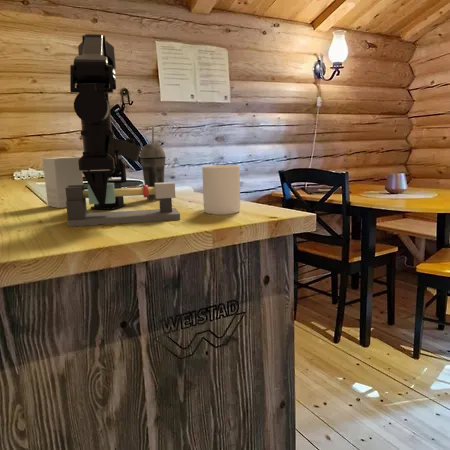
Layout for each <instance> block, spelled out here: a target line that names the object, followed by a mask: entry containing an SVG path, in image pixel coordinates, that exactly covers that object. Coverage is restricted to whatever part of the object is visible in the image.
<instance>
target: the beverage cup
mask: <svg viewBox="0 0 450 450" xmlns="http://www.w3.org/2000/svg"><path fill="white" fill-rule="evenodd" d="M154 127H155V126H152V127H151V143H147V144H145V145H144V146H143V147H141V151H140V154H139V161H140V165H141V168H142V176H143V182H144V185H148V187H155V183H164V182H165V165H166V159H167V157H166V153H165V151H164V149H163V147H162V146H161V145H159V144H158V143H155V130H154V129H155V128H154ZM146 200H147V201H159V199H156V197H155V194H154V195H149V197H146Z"/></svg>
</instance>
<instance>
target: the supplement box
mask: <svg viewBox="0 0 450 450" xmlns="http://www.w3.org/2000/svg"><path fill="white" fill-rule="evenodd" d="M81 157H82V156H79V157H77V156H64V157H63V156H62V157H47V158H42V165H43V167H42V168H43V174H44V176H43V177H44V182H45V192H46V193H45V194H46V202H47V207H53V208H57V209H62V208H63V209H64V208H67V206H66V201H67V199H66V189H65V188H66V187H68V186H69V185H84V178H83V173H82V171H80V170H79V163H78V160H79V159H80V158H81Z"/></svg>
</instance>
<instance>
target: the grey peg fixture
mask: <svg viewBox="0 0 450 450" xmlns="http://www.w3.org/2000/svg"><path fill="white" fill-rule="evenodd" d="M121 188H122V189H114V196H115V197H117V196H123V197H133V196H134V197H136V196H143V198H147V197H149V195H154V194H155V197H156V199H159V200H158V202H159V208H156V209H140V210H137V209H136V210H122V211H108V212H105V211H104V212H89V213H88V209H87V199H89V196H88V189H85V184H83V185H69V186H68V187H66V188H65V189H66V199H67V201H66V206H67V207H66V213H67V214H66V215H67V226H68V228H71V227H72V228H73V227H86V225H90V226H99V225H98V224H106V225H117V224H118V225H119V224H120V223H121V224H132V223H135V224H137V223H146V222H147V223H148V222H149V223H150V222H163V221H178V220H179V221H180V220H181V214H180V212H179V211H178V209H177V208H176V207H174V208H173V204H172V202H173V201H172V199H175V198H176V183H175V182H174V181H169V182H165V181H164V183H155V187H148V185H145V184H142V187H126V188H123V187H121Z"/></svg>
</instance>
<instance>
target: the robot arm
mask: <svg viewBox="0 0 450 450" xmlns="http://www.w3.org/2000/svg"><path fill="white" fill-rule="evenodd" d="M106 39H107V38H106V35H103V34H102V33H101V34H99V33H85V34H82V38H81V40H82V41H81V42H80V44H78V46H77V49H78V50H77V51H78V55H76V56H75V57H74V59H73V64H70V67H69V69H70V70H69V71H70V72H69V73H70V74H69V75H70V76H69V77H70V78H69V79H70V81H69V82H70V83H69V85H70V86H69V87H70V88H69V89H70V93H71V94H77V95H76V96H75V98H74V101H73V110H74V112H75V114H76V116H77V117H78V118H79V119H80V122H81V123H80V125H81V130H80V136H81V137H82V148H83V152H82V156H80V157H81V158H80V159H79V160H78V163H79V170H80V171H82V175H83V176H84V178H85V180H86V181H87V186H88V185H90V187H91V189H92V191H93V193H94V195H95V197H96V199H97V201H98V203H99V204H93V206H90V210H115V209H118V208H122V207H126V205H127V204H126V203H125V202H124V196H117V197H115V203H108V204H105V200H106V191H107V183H114V189H122V188H123V187H122V184H124V183H127V172H126V171H127V170H126V164H125V162H124V161H123V159H122V157H123V158H124V157H125V158H127V159H130V160H131V161H134V162H138V160H139V158H140V153H141V150H142V146H140V145H137V144H136V140H135V139H133V138H130V137H127V138H126V139H125V140H122V139H119V138H117V137H115V133H114V131H113V129H112V120H111V118H112V117H111V105H110V104H111V103H110V98H109V94H114V90H117V81H116V80H117V78H116V71H115V70H116V69H117V66H116V53H115V47H114V46H113V45H112V44H111V43H110V42H108V40H107V41H106ZM120 156H122V157H120Z"/></svg>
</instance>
